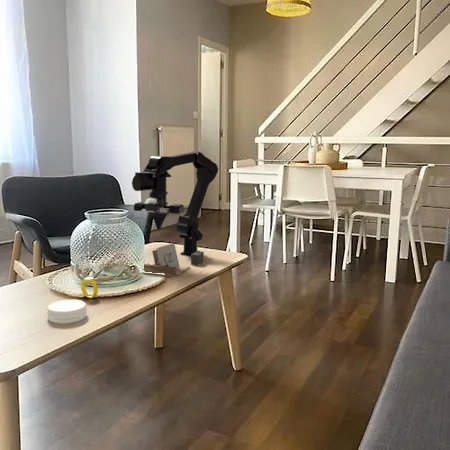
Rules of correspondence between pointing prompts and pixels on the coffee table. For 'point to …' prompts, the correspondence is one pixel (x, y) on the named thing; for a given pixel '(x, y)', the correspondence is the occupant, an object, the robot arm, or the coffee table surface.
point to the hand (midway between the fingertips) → (158, 229)
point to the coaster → (66, 311)
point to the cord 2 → (197, 258)
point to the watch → (95, 288)
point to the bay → (162, 269)
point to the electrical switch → (166, 256)
